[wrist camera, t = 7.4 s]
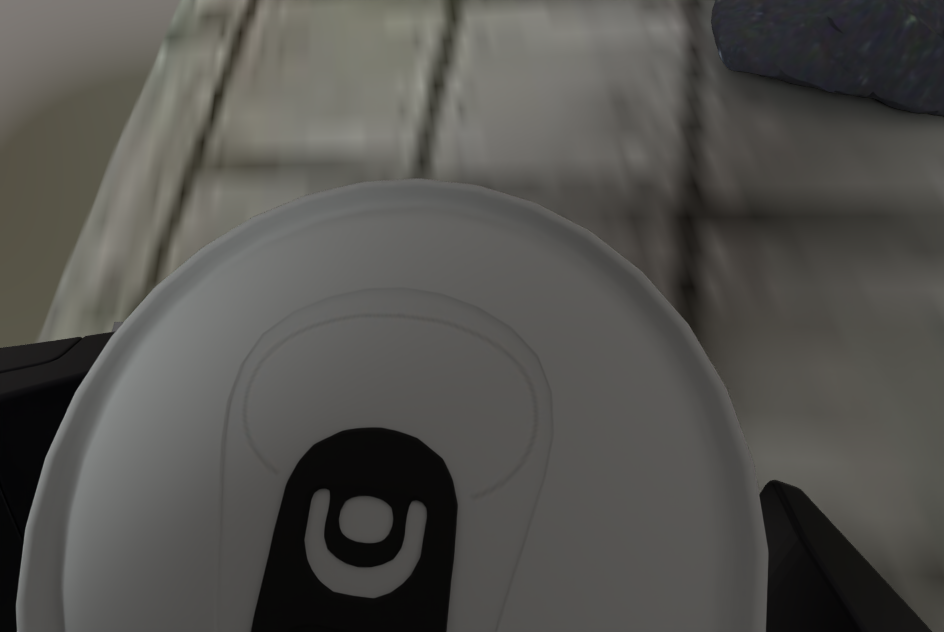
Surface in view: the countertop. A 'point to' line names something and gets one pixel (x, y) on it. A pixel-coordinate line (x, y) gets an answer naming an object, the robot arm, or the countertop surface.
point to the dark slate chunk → (840, 46)
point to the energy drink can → (399, 438)
